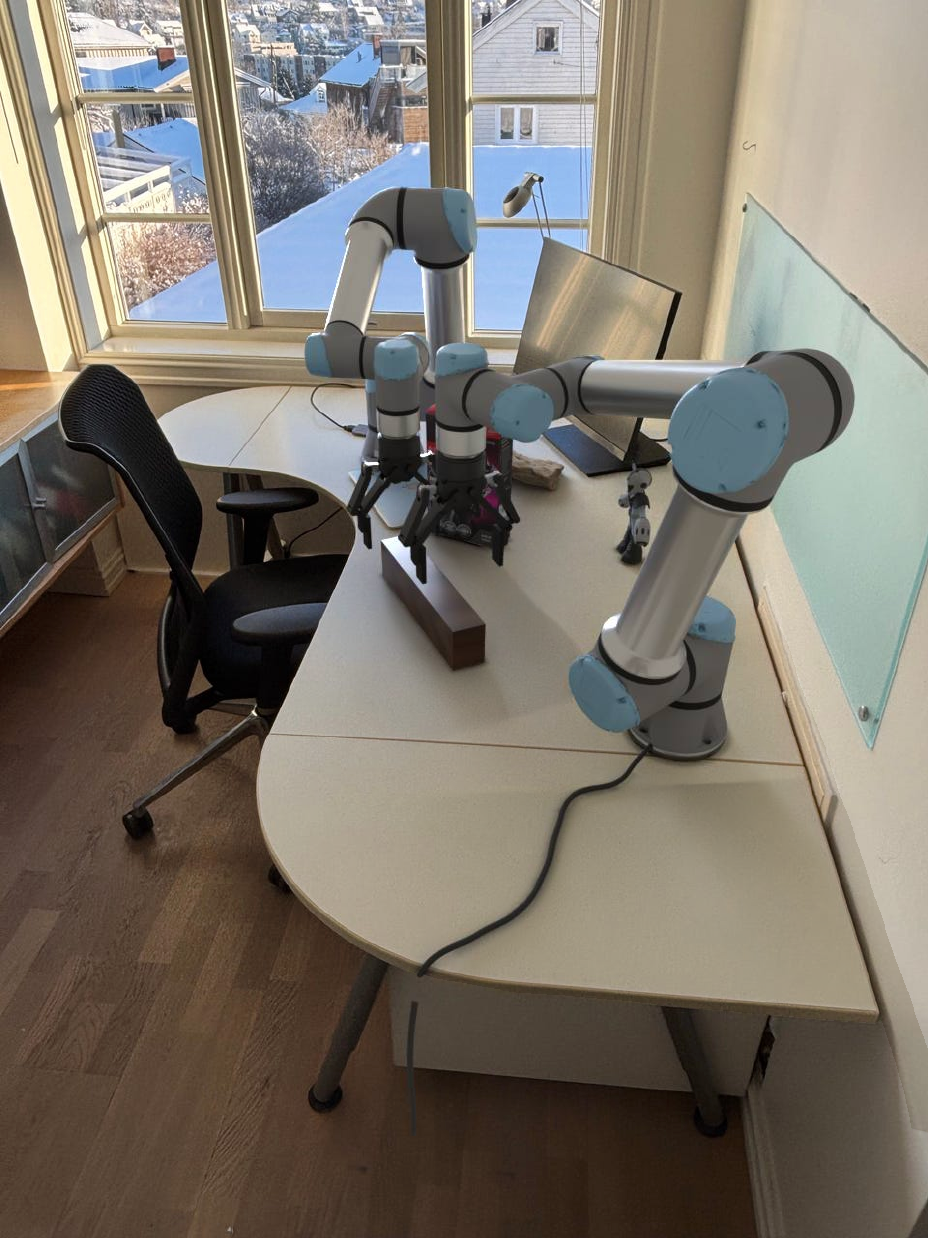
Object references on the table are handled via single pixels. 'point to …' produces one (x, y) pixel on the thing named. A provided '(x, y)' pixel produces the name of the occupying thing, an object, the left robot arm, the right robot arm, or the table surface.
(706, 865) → the table surface
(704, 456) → the right robot arm
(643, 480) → the robot
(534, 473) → the stone
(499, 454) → the graphics card box
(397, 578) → the beam
